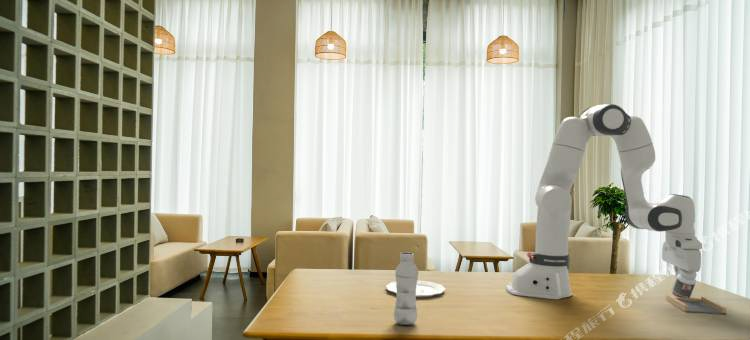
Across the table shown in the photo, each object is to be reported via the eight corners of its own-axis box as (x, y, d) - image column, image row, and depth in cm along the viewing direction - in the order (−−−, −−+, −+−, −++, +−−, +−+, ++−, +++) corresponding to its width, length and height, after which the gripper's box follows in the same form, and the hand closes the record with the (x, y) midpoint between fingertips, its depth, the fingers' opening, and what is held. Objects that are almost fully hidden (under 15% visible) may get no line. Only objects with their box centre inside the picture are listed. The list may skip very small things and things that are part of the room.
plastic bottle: (392, 320, 138) (393, 251, 137) (415, 320, 138) (416, 251, 138) (395, 327, 131) (396, 255, 131) (419, 327, 132) (420, 255, 132)
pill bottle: (692, 301, 164) (701, 278, 160) (674, 299, 165) (682, 275, 161) (686, 291, 169) (694, 268, 165) (668, 288, 170) (676, 265, 166)
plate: (374, 289, 172) (374, 284, 172) (417, 281, 185) (417, 277, 185) (412, 303, 156) (412, 298, 156) (457, 294, 168) (457, 289, 168)
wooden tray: (684, 311, 151) (684, 305, 151) (665, 299, 165) (665, 294, 165) (725, 314, 149) (726, 308, 149) (703, 302, 163) (703, 296, 163)
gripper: (657, 235, 179) (656, 272, 179) (684, 244, 159) (684, 285, 159) (675, 235, 178) (675, 272, 178) (705, 245, 158) (704, 286, 158)
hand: (679, 279), depth 169 cm, fingers closed
